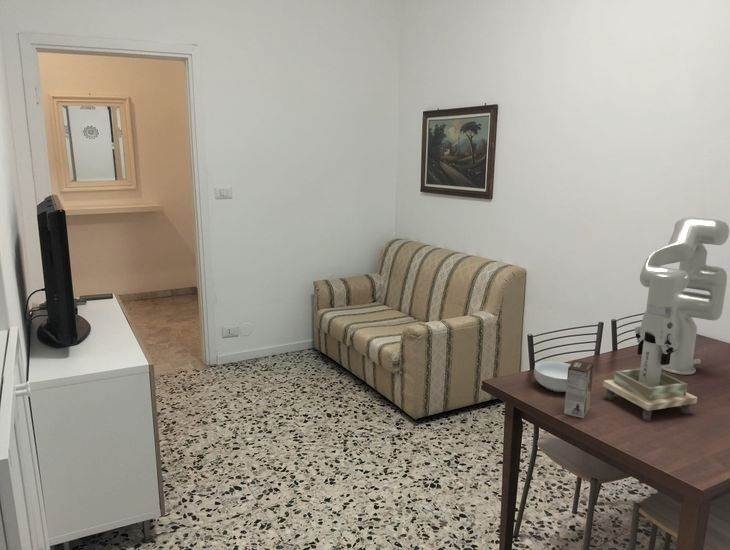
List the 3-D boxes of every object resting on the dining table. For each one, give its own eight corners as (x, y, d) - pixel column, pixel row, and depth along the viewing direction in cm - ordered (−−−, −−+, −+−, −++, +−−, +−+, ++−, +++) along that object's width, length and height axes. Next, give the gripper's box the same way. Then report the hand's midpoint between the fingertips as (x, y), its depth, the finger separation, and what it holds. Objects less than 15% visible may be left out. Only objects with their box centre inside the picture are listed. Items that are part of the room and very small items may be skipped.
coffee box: (569, 403, 188) (574, 358, 185) (589, 408, 185) (594, 362, 181) (563, 414, 180) (567, 367, 177) (583, 419, 177) (589, 371, 174)
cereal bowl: (548, 399, 191) (550, 380, 190) (524, 380, 207) (525, 362, 206) (592, 395, 195) (594, 376, 194) (565, 377, 211) (566, 359, 209)
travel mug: (653, 384, 190) (661, 328, 186) (661, 392, 183) (669, 334, 179) (634, 383, 190) (641, 327, 186) (642, 391, 184) (649, 333, 180)
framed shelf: (646, 390, 200) (650, 364, 198) (694, 414, 181) (699, 385, 179) (601, 396, 194) (604, 369, 192) (646, 422, 175) (650, 393, 173)
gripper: (690, 316, 174) (683, 367, 178) (647, 301, 190) (641, 349, 194) (672, 318, 172) (665, 370, 175) (630, 303, 188) (624, 351, 191)
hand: (652, 359), depth 185 cm, fingers open, 9 cm apart
